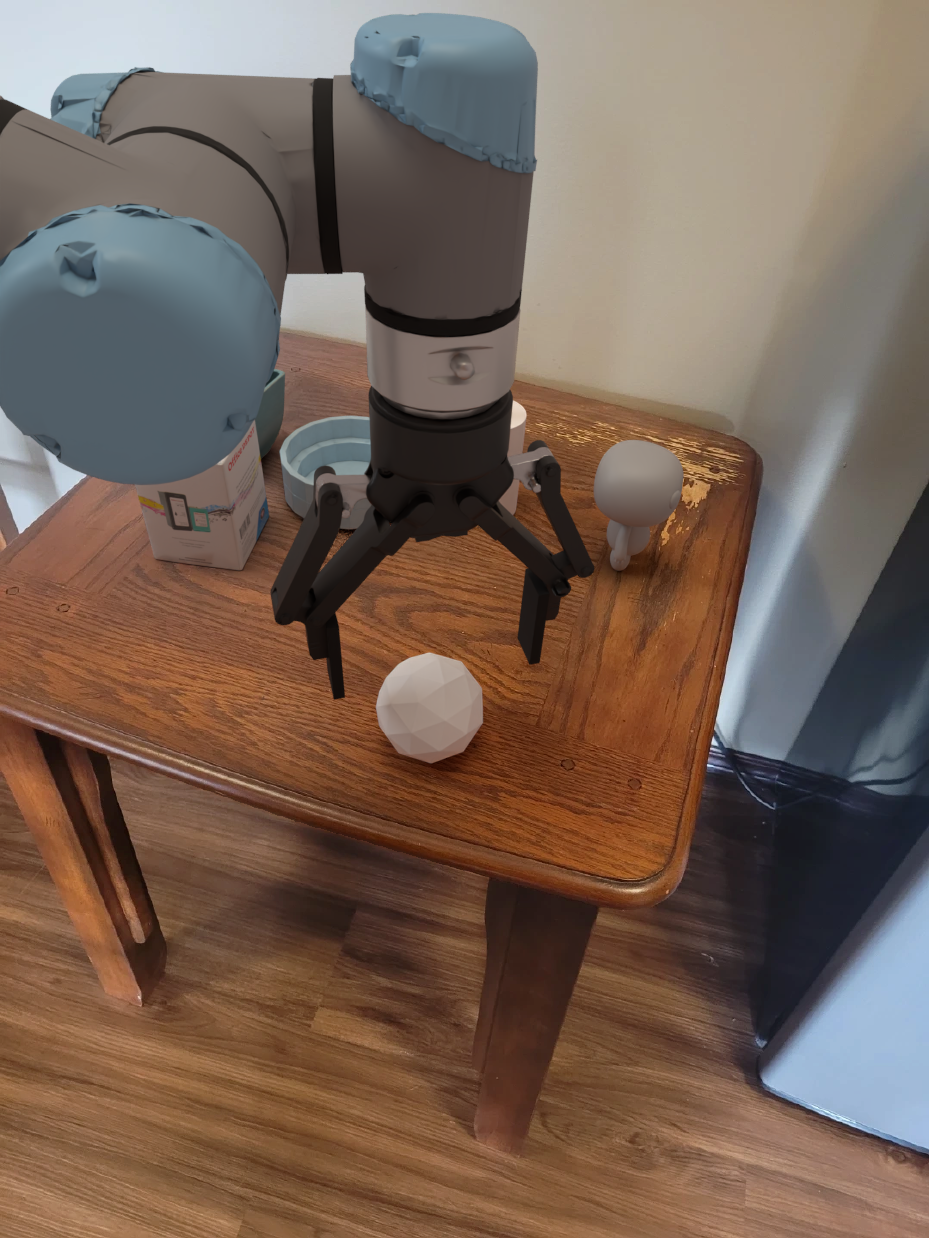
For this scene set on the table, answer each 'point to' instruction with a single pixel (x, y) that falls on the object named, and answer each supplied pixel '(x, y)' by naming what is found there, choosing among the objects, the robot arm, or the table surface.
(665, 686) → the table surface
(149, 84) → the robot arm
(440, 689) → the geometric ball
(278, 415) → the flower pot
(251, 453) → the ink box
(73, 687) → the table surface
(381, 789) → the table surface
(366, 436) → the bowl
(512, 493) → the candle
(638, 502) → the figurine
